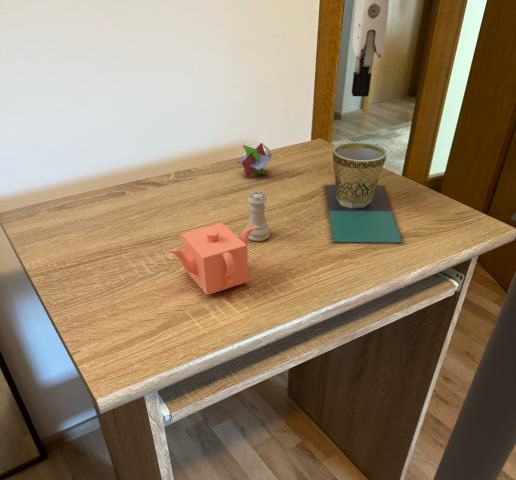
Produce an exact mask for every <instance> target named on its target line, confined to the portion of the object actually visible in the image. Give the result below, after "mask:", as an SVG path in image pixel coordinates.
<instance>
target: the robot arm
mask: <svg viewBox="0 0 516 480" xmlns="http://www.w3.org/2000/svg"><path fill="white" fill-rule="evenodd" d="M389 4H390V0H355V9H354V17H353V18H354V19H353V31H352V50H353V52H354V54H355V63H354V71H353V74H352V84H351V95H352V96H353V97H368V96H369V95H370V87H371V79H372V70H373V63H374V56H375V54H376V56H377V58H378V59H381V58H382V57H383V56H384V53H385V44H386V35H387V34H386V33H387V28H388V27H387V26H388V16H389V6H390V5H389Z"/></svg>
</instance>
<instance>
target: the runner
mask: <svg viewBox="0 0 516 480" xmlns="http://www.w3.org/2000/svg"><path fill="white" fill-rule="evenodd" d="M325 191H326V199H327V207H328V213H329V220H330V228H331V235H332V240H333V243H337V244H339V243H342V244H344V243H345V244H349V243H350V244H352V243H353V244H403V240H402V237H401V235H400V233H399V229H398V226H397V223H396V220H395V217H394V215H393V212H392V209H391V206H390V203H389V201H388V197H387V194H386V192H385V189H384V187H383V185H377V186H376V189H375V192H374V195H373V198H372V200H371V202H370V203H369V204H368V205H367V206H365V207H364V208H348V207H345V206H341V205H340V204H339V202H338V200H337V196H336V184H335V185H334V184H333V185H329V184H328V185H325Z"/></svg>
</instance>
